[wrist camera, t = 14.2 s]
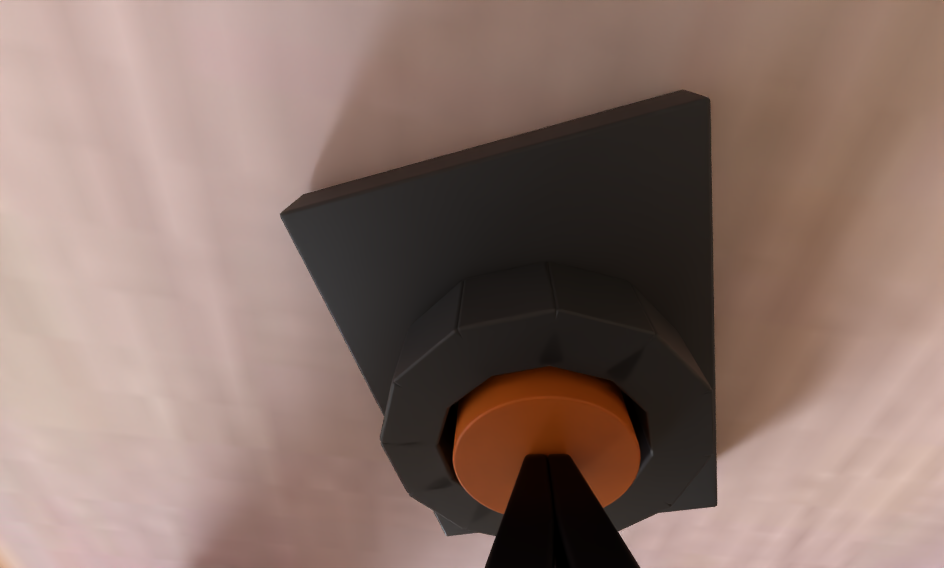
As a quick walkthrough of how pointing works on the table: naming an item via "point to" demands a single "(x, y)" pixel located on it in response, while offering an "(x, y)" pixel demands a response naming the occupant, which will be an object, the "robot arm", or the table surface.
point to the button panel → (534, 290)
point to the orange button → (544, 432)
